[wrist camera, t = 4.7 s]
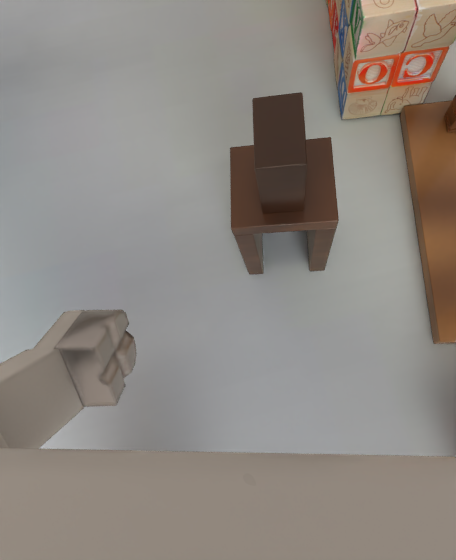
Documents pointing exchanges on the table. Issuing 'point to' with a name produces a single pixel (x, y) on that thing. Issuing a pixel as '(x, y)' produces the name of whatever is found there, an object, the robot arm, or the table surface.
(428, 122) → the rail
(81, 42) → the table surface
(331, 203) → the brown stepped block
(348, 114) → the stack of blocks
